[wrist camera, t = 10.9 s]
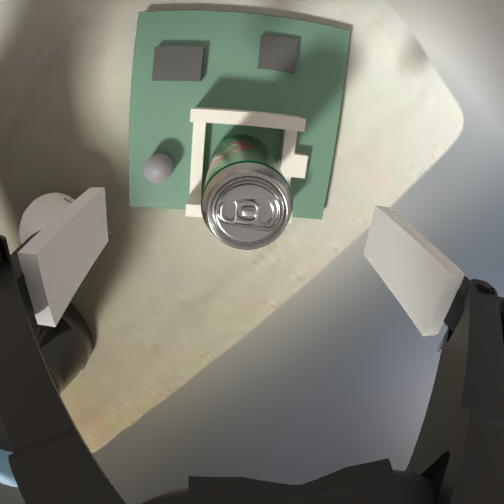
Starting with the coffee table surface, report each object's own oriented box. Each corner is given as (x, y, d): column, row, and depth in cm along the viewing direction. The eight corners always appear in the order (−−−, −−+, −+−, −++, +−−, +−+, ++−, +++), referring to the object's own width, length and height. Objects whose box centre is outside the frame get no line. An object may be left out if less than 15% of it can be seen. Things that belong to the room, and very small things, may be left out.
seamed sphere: (43, 242, 31) (10, 276, 24) (41, 178, 27) (2, 203, 21) (122, 259, 32) (100, 300, 26) (127, 192, 29) (100, 222, 22)
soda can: (267, 191, 29) (289, 258, 18) (209, 188, 28) (197, 254, 18) (273, 136, 26) (303, 170, 16) (213, 131, 26) (200, 162, 15)
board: (133, 202, 29) (118, 221, 25) (142, 15, 21) (126, 2, 17) (318, 214, 31) (331, 234, 27) (345, 32, 23) (365, 24, 19)
